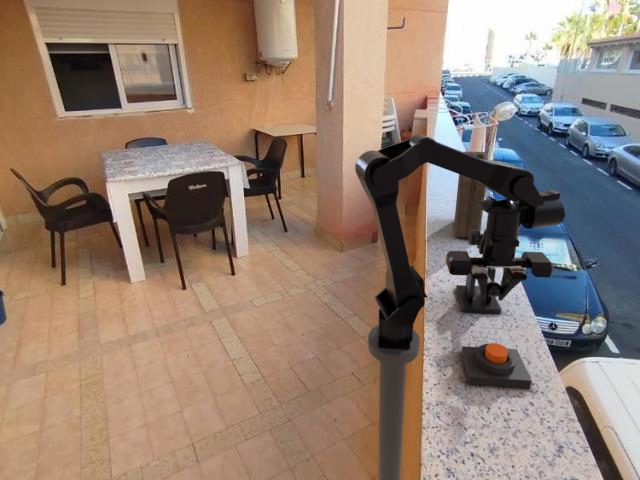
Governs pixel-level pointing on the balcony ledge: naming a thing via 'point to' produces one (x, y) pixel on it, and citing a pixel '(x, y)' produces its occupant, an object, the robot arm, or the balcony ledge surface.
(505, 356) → the button
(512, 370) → the control block
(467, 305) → the switch mount
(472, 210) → the brown upright rectangular block
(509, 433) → the balcony ledge surface
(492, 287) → the lever
